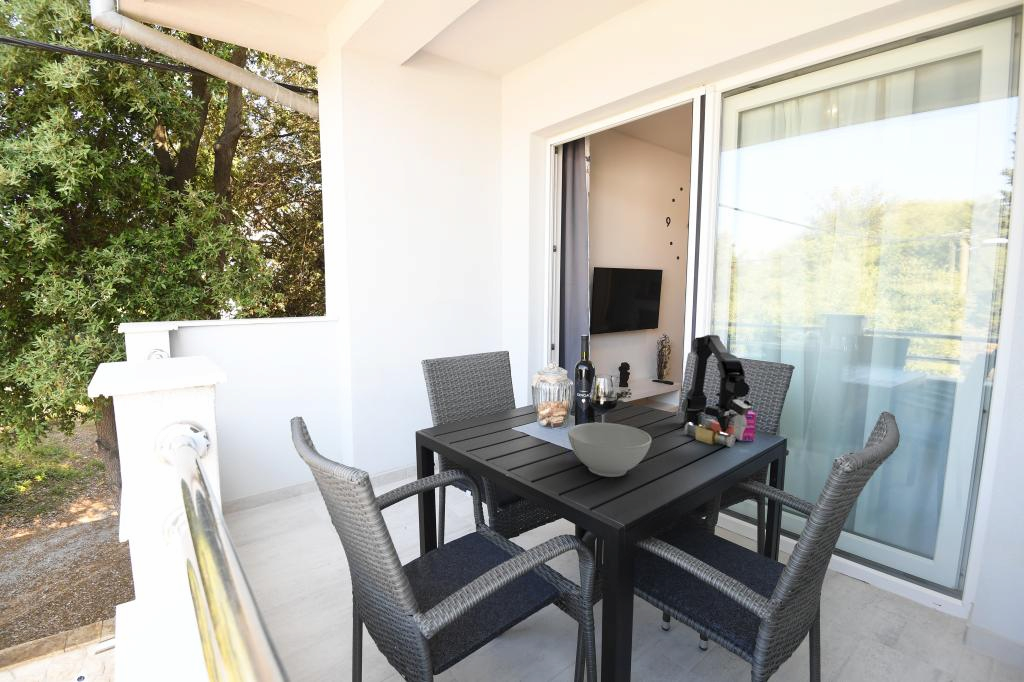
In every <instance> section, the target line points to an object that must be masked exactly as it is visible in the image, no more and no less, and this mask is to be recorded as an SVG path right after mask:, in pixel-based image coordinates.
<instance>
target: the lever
mask: <svg viewBox="0 0 1024 682" xmlns="http://www.w3.org/2000/svg"><path fill="white" fill-rule="evenodd" d="M704 425H705V427H706V428H711V429H715V430H718V431H721V432H723V431H722V430H721V427H720V425H719V422H718V421H716V420H715V419H712V418H705V420H704ZM734 429H735V426H734V425H730V424H729V425H728V428H727V430H726V432H723V433H725V434H730V435H734Z"/></svg>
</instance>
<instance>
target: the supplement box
mask: <svg viewBox="0 0 1024 682" xmlns="http://www.w3.org/2000/svg"><path fill="white" fill-rule="evenodd" d="M735 414H737V416H735V417H734V425H733V426H735V429H734V435H735V440H737V441H738V442H754V439H755V430H756V420H757V414H756V413H755V412H753V411H752V410H749V412H748V414H747V415H746V414H745V415H739V414H738V413H737V412H735Z"/></svg>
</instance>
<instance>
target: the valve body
mask: <svg viewBox="0 0 1024 682" xmlns="http://www.w3.org/2000/svg"><path fill="white" fill-rule="evenodd" d="M683 430H684V433H685V434H686V435H689V436H691V435H693V436H695V440H697V441H700V442H702V443H706V444H709V445H714V444H716V445H717V444H718V445H720V444H723V445H725V446H726V447H728V448H733V446H734V445H735V443H736V438H735V435H730V434H727V433H724V432H721V431H718V430H715V429H711V428H706V427H705V424H702V425H698V426H697V425H694V424H693V423H692V422H688V423H686V425H685V424H684V429H683Z"/></svg>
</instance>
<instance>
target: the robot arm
mask: <svg viewBox="0 0 1024 682" xmlns="http://www.w3.org/2000/svg"><path fill="white" fill-rule="evenodd" d="M691 343H692V344H691V347H692V352H693V354H694V356H695V359H694V367H693V375H692V382H691V387H690V389H689V391H688V392H687V393H686V397H685V398H684V400H683V402H682V404H681V411H683V412H684V415H683V416H684V417H683V422H681V424H682V425H684V426H685V425H686V423H688V422H692V423H693V424H694V425H697V426H698V425H703V423H702V419H703V415H702V413H704V415H707V416H712V417H715V418H716V420H717V422H718V423H719V425H720V427H721V430H722V431H723V433H724V432H726V430H727V428H728V425H730V423H731V421H732V419H734V418H735V416H737V414H736V412H737V413H738V414H739V415H745V414H746V415H747V414H748V412H749V411H752V410H753V409H752V407H753V406H752V403H753V402H752V401H751V400H748V399H747V400H740V398H744V397H746V396H748V395H749V392H750V386H749V384H748V383H747V382H746V380H745V378H746V372H745V370H744V367H743V364H742V362H741V360H740V358H738V357H737V356H736V355H734V354H731V353H730V352H729V351H728V349H727V348H726V346H725V345H724V344H723V342H722V341H721V338H720V336H719V335H717V334H706V335H704V336H701V337H695V338H694V339H693V340H692V342H691ZM712 355H714V357H715V358H716V360H717V364H716V366H717V369H718V371H719V375H718V378H720V379H719V391H718V392H716V396H718V400H717V401H718V402H717V403H715V405H710V406H707V403H708V402H707V399H708V398H707V396H706V394H705V392H704V387H705V379H706V373H707V366H708V359H709V358H710V357H711V356H712Z"/></svg>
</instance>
